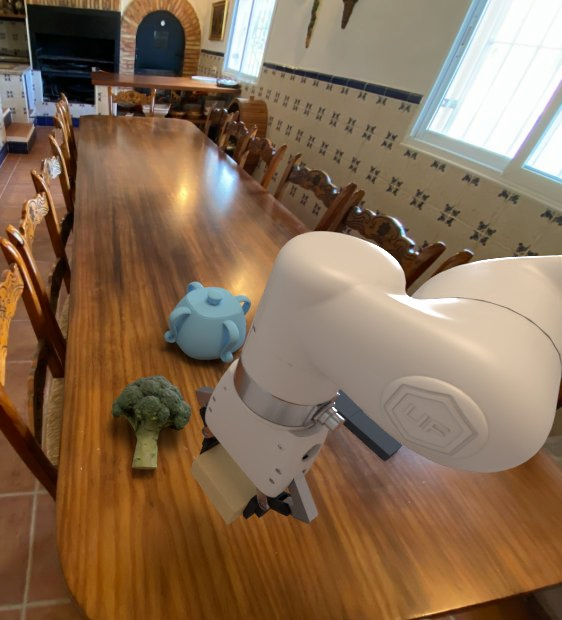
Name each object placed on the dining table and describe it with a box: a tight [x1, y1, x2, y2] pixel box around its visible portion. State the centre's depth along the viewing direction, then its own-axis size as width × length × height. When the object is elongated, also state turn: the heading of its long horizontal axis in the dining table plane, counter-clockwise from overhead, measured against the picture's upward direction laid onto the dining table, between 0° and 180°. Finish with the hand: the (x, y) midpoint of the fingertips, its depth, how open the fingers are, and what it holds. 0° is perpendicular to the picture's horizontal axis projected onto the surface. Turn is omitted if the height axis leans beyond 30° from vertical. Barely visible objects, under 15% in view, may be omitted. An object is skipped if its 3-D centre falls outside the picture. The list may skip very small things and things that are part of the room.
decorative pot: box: [163, 281, 252, 364], centre depth 76 cm, size 16×16×14 cm
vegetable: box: [110, 374, 192, 470], centre depth 58 cm, size 12×13×15 cm
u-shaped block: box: [334, 389, 404, 462], centre depth 70 cm, size 20×16×2 cm
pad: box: [189, 443, 257, 526], centre depth 40 cm, size 7×7×3 cm
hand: (231, 479), depth 41 cm, fingers closed on pad, 6 cm apart
